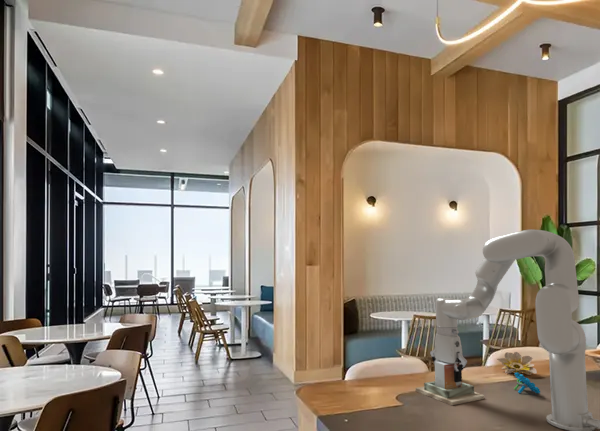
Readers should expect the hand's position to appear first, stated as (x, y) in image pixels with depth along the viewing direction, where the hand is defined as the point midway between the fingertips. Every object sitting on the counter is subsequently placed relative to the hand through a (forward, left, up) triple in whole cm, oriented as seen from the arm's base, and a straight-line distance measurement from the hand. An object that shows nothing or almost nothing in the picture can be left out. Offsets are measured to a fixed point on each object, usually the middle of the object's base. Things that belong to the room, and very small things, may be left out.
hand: (448, 378), depth 161 cm
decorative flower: (+8, -48, -6) cm, 50 cm away
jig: (0, 0, -6) cm, 6 cm away
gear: (-11, -28, -6) cm, 31 cm away
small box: (0, 0, -5) cm, 5 cm away
